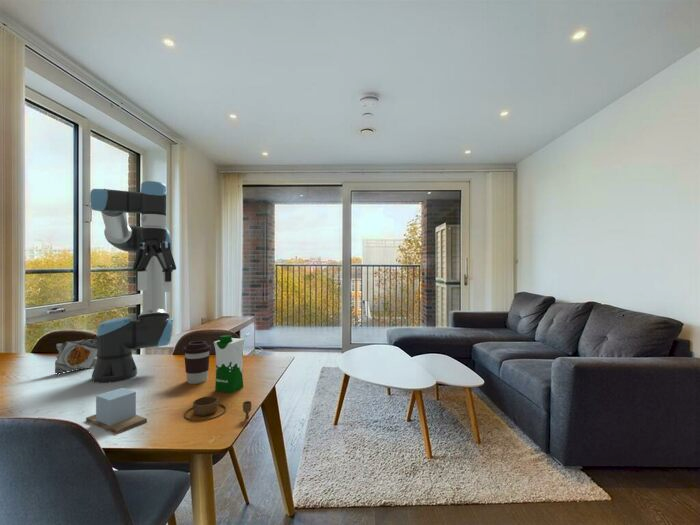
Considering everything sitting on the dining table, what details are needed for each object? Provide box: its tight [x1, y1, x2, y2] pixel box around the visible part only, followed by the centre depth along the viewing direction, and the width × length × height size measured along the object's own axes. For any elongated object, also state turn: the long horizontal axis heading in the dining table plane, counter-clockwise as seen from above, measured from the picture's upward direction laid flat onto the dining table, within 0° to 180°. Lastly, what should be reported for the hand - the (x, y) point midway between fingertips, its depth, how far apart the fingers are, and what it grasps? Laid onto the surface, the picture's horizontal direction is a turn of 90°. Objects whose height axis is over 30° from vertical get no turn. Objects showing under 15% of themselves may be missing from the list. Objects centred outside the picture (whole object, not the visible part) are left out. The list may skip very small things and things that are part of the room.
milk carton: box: [213, 334, 245, 394], centre depth 126 cm, size 9×9×20 cm
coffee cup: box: [182, 340, 212, 385], centre depth 135 cm, size 10×10×15 cm
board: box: [85, 413, 148, 435], centre depth 99 cm, size 16×8×2 cm, turn 61°
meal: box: [54, 338, 97, 374], centre depth 147 cm, size 15×4×13 cm, turn 142°
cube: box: [95, 387, 137, 426], centre depth 99 cm, size 7×7×7 cm
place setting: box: [183, 396, 252, 422], centre depth 103 cm, size 18×20×6 cm
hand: (154, 291), depth 117 cm, fingers open, 13 cm apart
